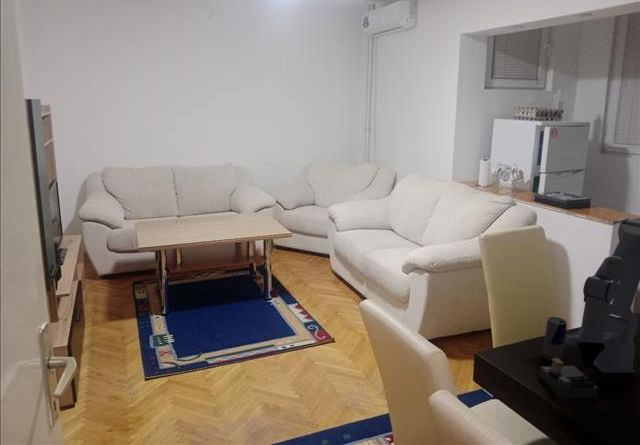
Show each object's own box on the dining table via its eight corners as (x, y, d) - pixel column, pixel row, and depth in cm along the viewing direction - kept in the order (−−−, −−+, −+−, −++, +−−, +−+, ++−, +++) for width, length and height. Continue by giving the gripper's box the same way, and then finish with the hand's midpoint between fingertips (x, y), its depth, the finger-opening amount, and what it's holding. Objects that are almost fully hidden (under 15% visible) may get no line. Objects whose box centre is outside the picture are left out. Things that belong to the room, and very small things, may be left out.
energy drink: (563, 362, 151) (569, 325, 148) (544, 360, 152) (549, 323, 149) (558, 353, 156) (564, 317, 153) (540, 351, 157) (545, 315, 154)
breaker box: (572, 375, 144) (575, 360, 143) (596, 397, 133) (599, 381, 132) (539, 375, 143) (541, 360, 142) (559, 398, 132) (562, 382, 131)
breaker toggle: (557, 370, 139) (559, 358, 138) (562, 375, 137) (564, 363, 136) (549, 370, 139) (550, 358, 138) (554, 375, 136) (556, 363, 135)
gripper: (608, 312, 140) (600, 356, 143) (560, 315, 137) (553, 359, 141) (627, 323, 133) (618, 369, 136) (577, 326, 131) (569, 373, 134)
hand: (586, 365), depth 138 cm, fingers closed
